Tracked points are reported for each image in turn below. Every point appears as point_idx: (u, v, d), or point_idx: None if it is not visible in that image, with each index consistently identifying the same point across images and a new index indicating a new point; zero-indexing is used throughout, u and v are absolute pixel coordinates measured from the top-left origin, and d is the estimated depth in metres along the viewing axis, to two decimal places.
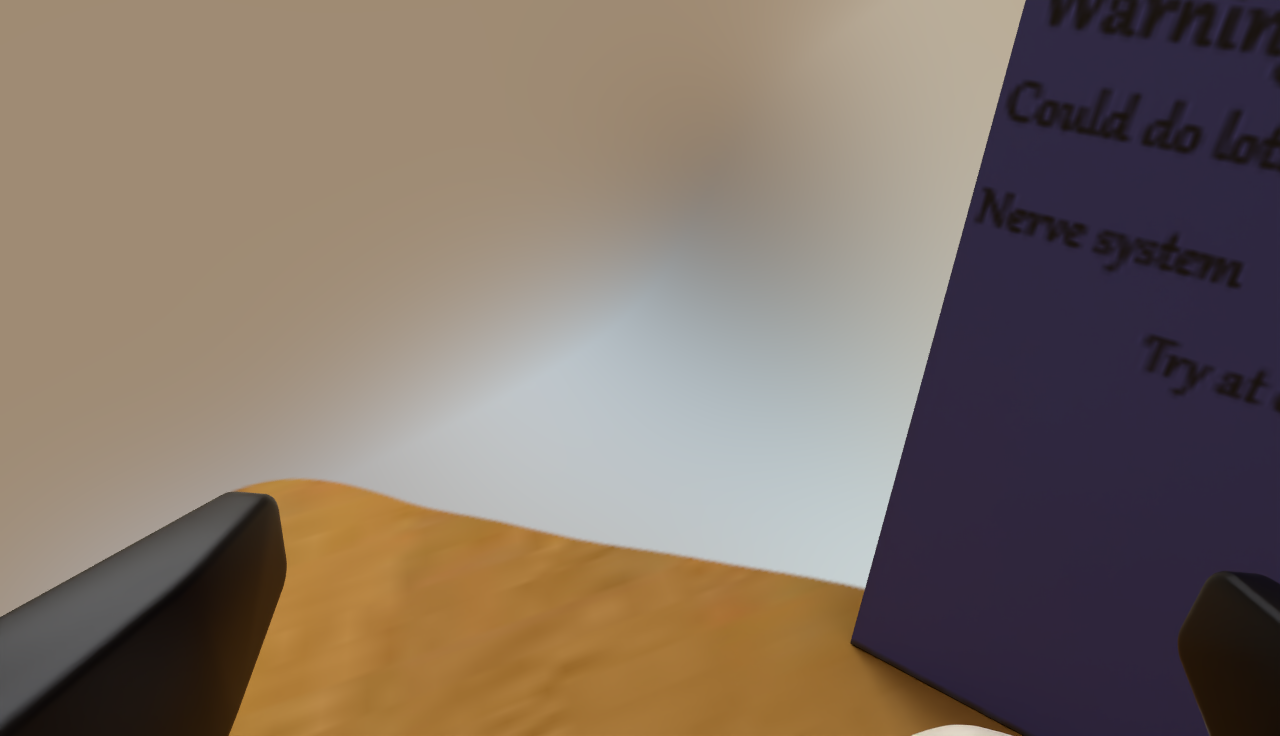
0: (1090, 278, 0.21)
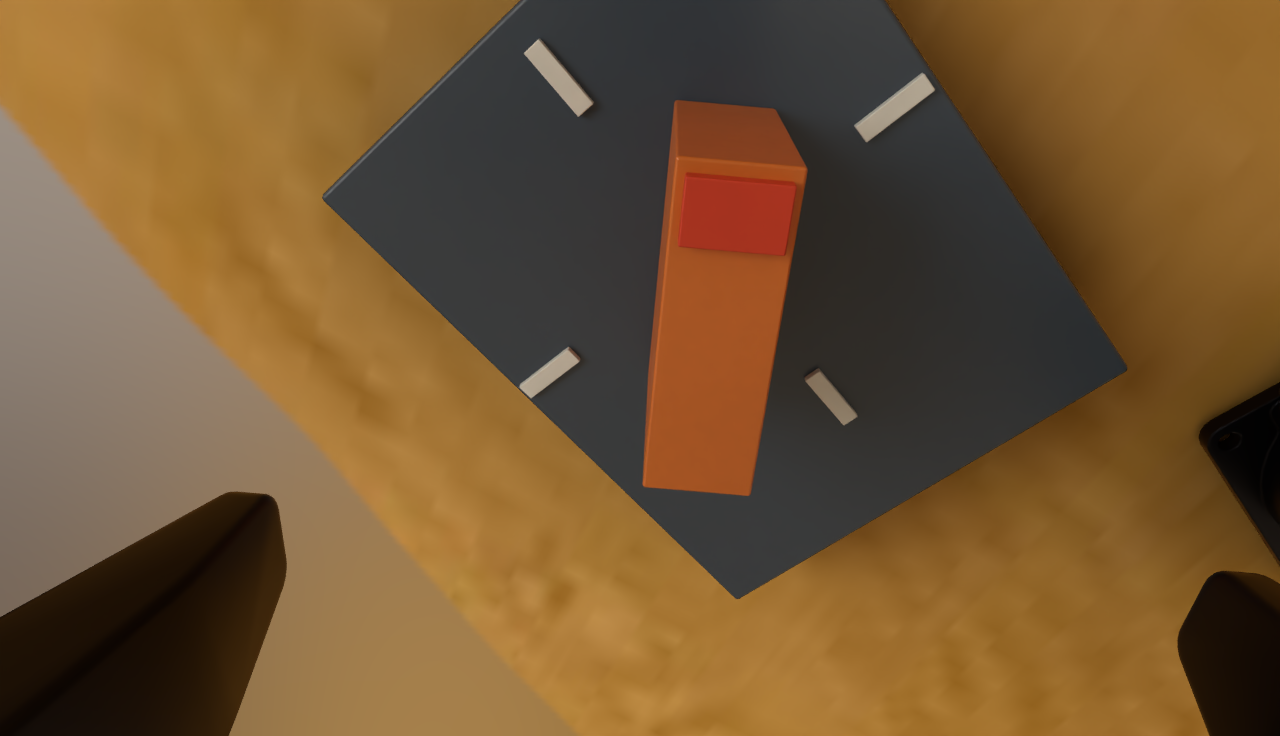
0: None
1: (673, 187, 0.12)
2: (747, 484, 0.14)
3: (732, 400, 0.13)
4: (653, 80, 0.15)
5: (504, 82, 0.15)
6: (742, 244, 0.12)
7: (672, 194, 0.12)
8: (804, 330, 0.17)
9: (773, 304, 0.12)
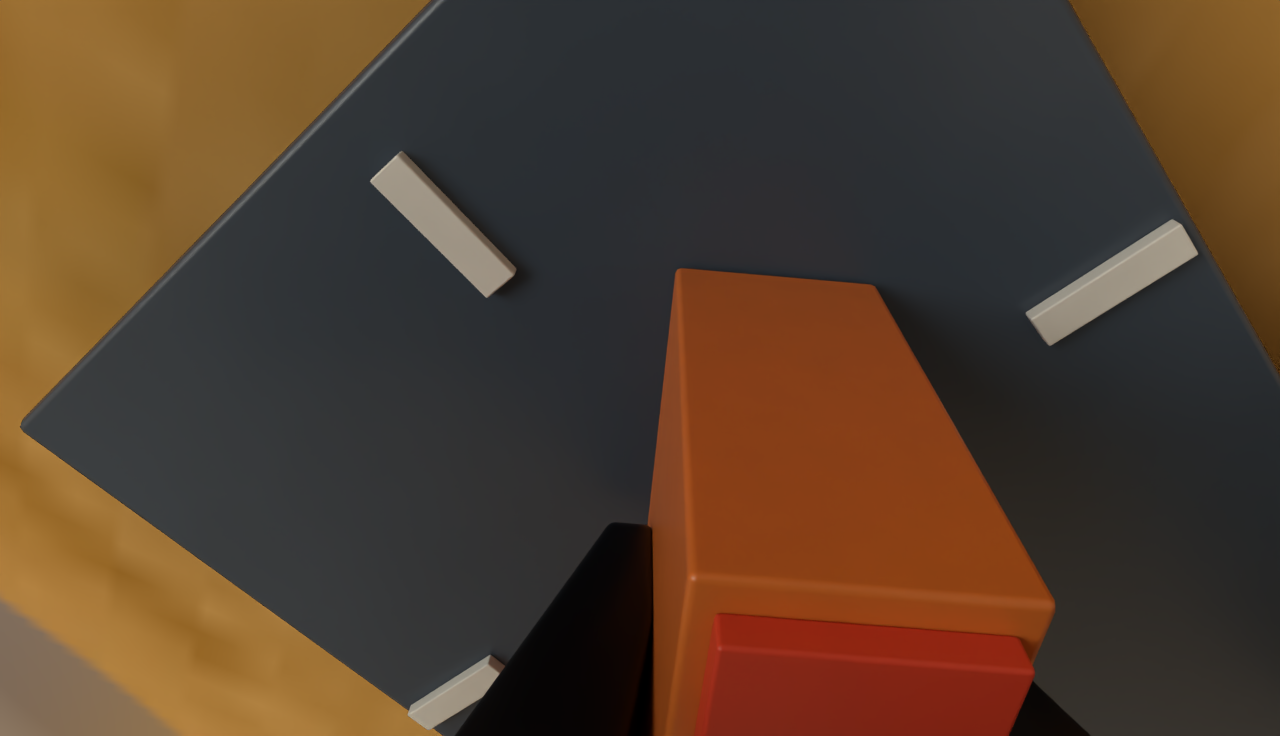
0: None
1: (681, 639, 0.04)
2: None
3: None
4: (633, 230, 0.07)
5: (337, 231, 0.07)
6: None
7: (678, 651, 0.04)
8: None
9: None
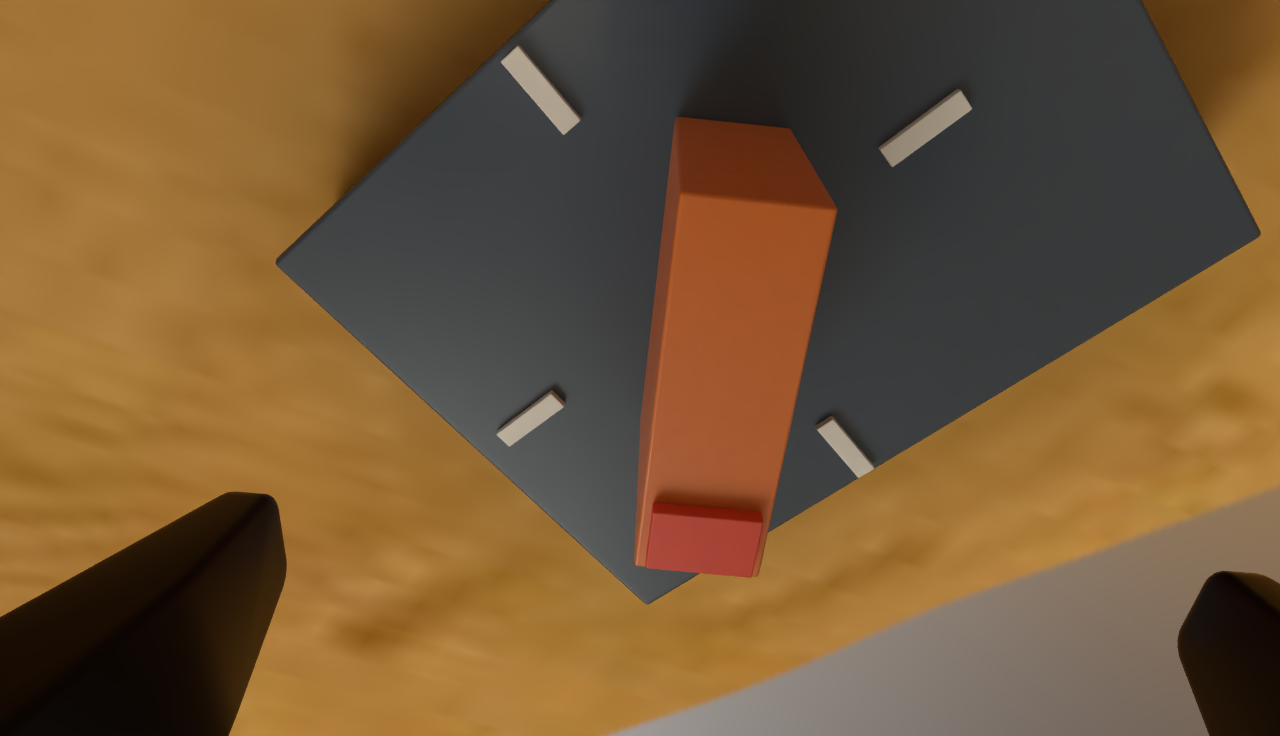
0: None
1: (762, 553, 0.12)
2: (686, 214, 0.10)
3: (705, 340, 0.10)
4: (528, 337, 0.15)
5: (537, 460, 0.16)
6: (697, 524, 0.11)
7: (763, 547, 0.12)
8: (821, 169, 0.13)
9: (660, 451, 0.11)
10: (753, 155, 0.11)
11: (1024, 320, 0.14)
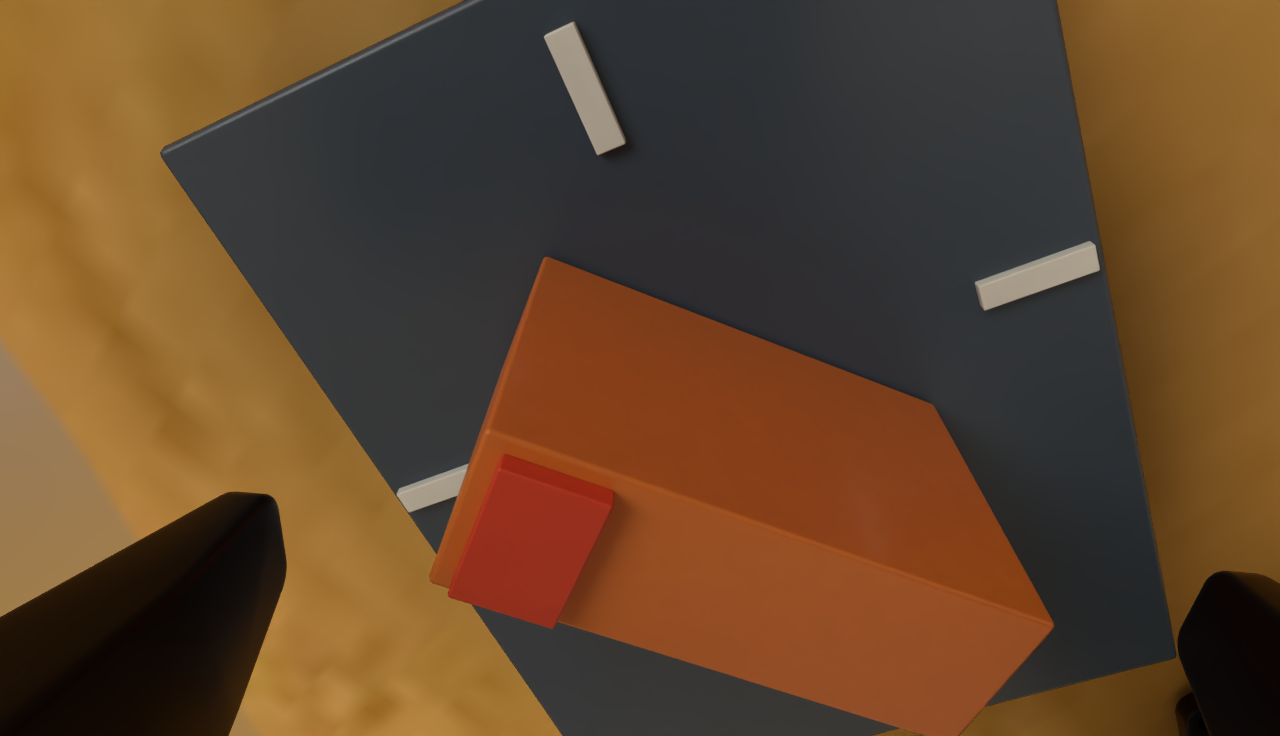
0: None
1: None
2: (1028, 626, 0.08)
3: (856, 608, 0.08)
4: (722, 137, 0.10)
5: (499, 68, 0.09)
6: (573, 557, 0.07)
7: None
8: None
9: (704, 522, 0.07)
10: None
11: (574, 654, 0.14)
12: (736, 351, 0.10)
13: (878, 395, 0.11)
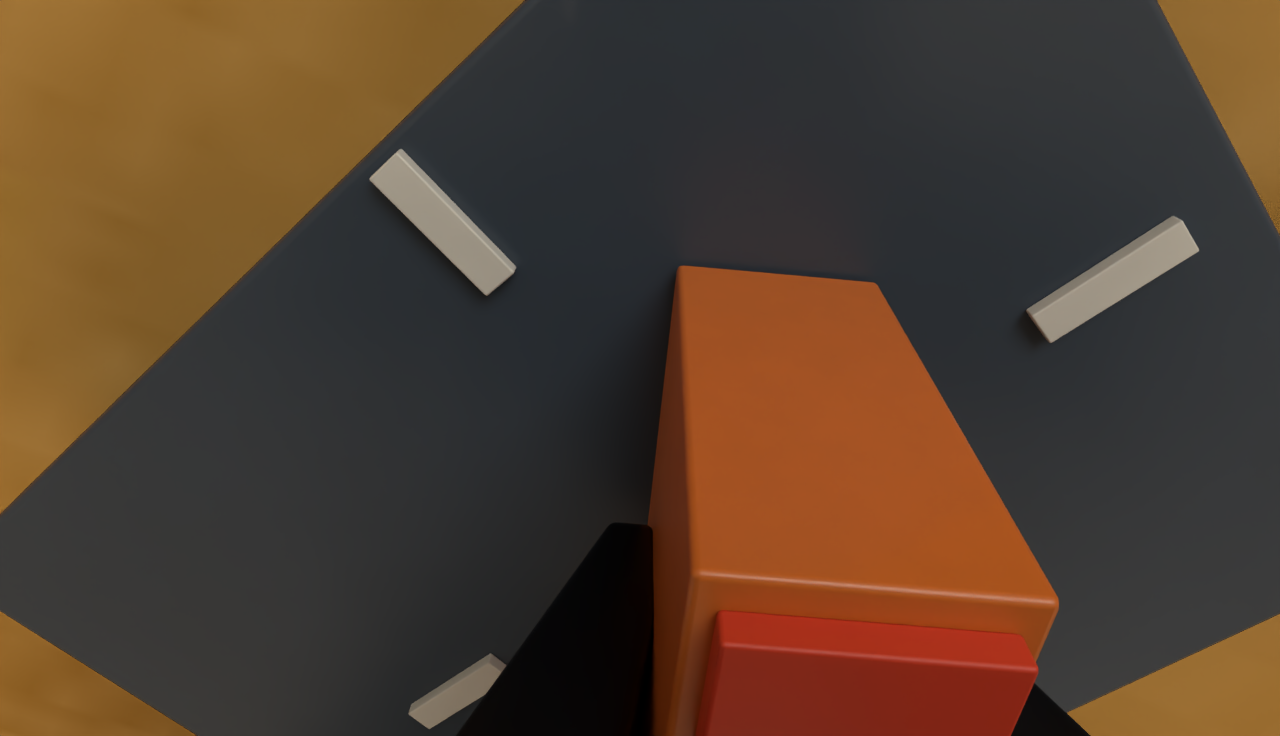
0: None
1: (683, 636, 0.04)
2: None
3: None
4: (1057, 431, 0.08)
5: (1126, 167, 0.07)
6: None
7: (680, 648, 0.04)
8: None
9: None
10: None
11: (211, 463, 0.09)
12: None
13: None
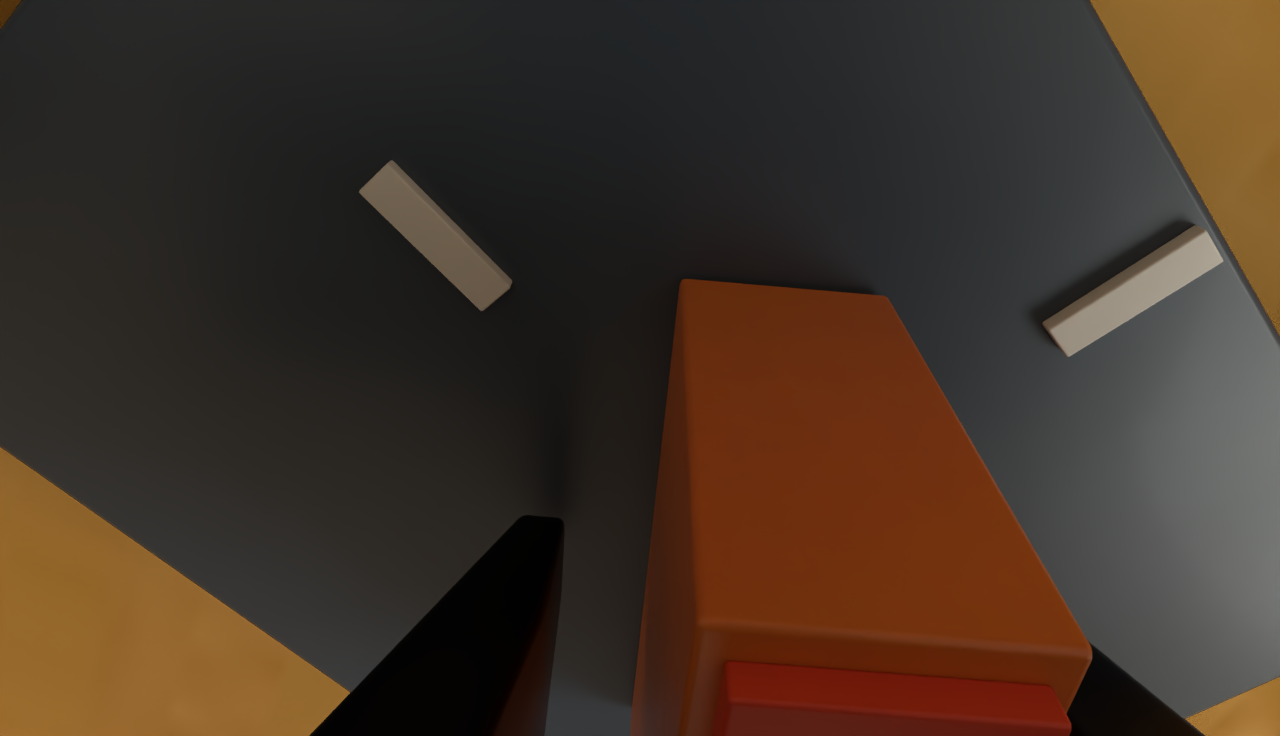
0: None
1: (688, 687, 0.04)
2: None
3: None
4: None
5: None
6: None
7: (685, 699, 0.04)
8: (532, 387, 0.08)
9: None
10: None
11: None
12: None
13: None
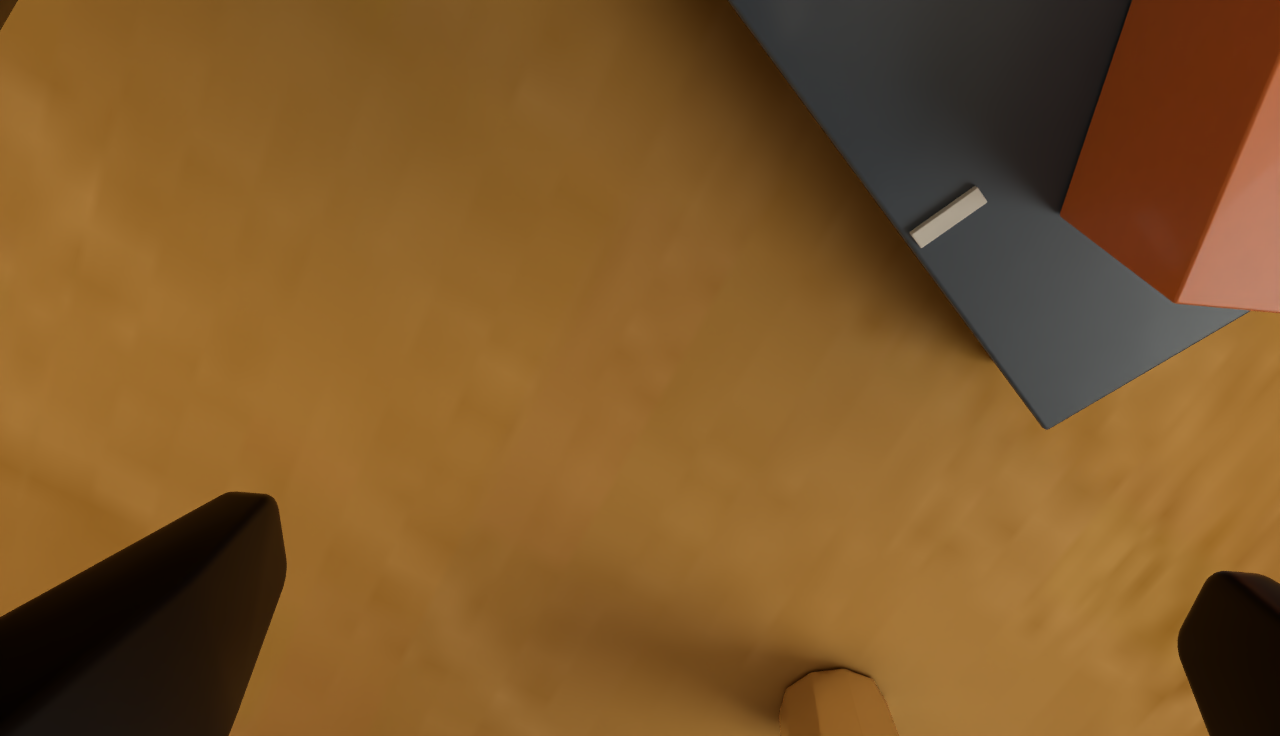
0: None
1: None
2: None
3: None
4: None
5: None
6: None
7: None
8: None
9: None
10: None
11: None
12: None
13: None
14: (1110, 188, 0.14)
